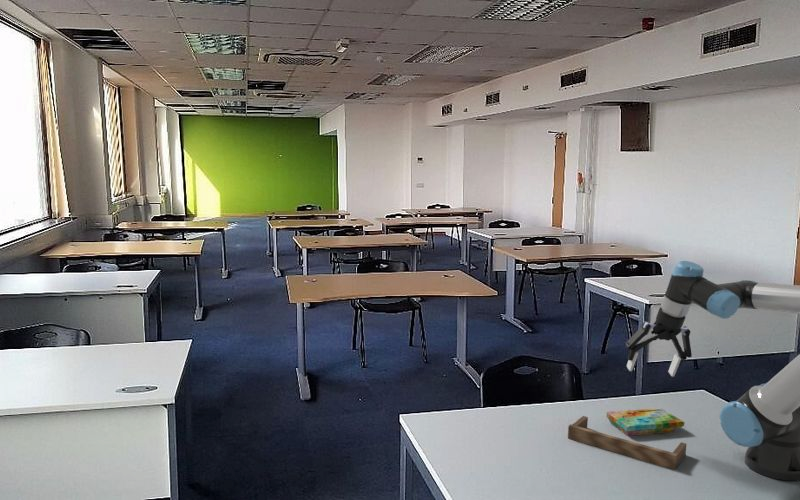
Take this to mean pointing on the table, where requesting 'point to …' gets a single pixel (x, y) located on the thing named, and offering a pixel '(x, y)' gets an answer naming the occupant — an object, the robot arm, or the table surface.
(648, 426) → the puzzle game
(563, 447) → the table surface
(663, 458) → the frame
